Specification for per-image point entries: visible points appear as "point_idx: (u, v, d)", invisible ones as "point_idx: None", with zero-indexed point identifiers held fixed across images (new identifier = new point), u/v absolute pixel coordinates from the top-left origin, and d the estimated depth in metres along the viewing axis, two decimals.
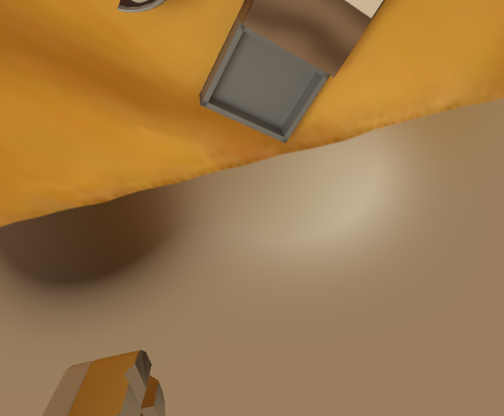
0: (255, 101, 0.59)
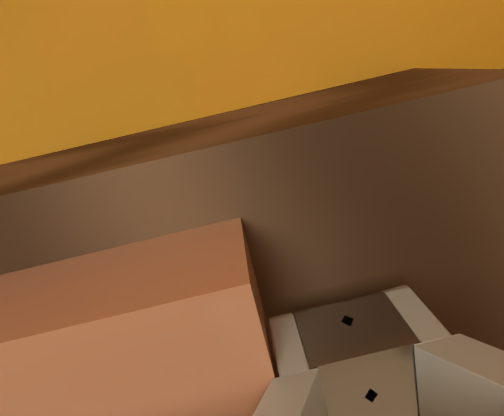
0: None
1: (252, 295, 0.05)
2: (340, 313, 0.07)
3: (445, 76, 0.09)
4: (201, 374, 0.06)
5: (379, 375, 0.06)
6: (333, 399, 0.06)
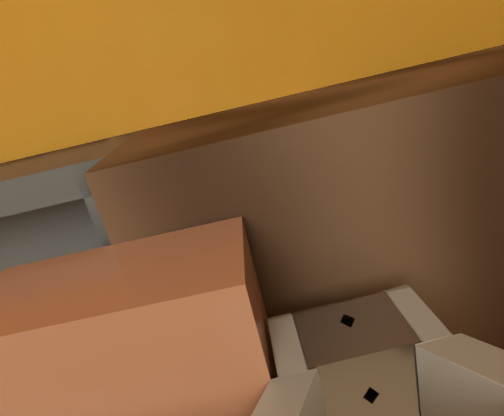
0: None
1: (247, 296, 0.05)
2: (341, 313, 0.07)
3: None
4: (197, 373, 0.06)
5: (380, 374, 0.06)
6: (332, 399, 0.06)
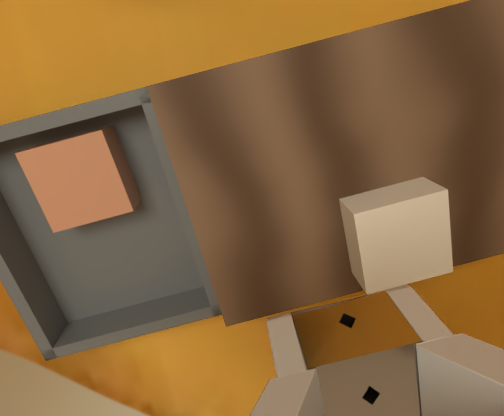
0: (63, 240, 0.26)
1: None
2: (342, 312, 0.07)
3: None
4: None
5: (381, 374, 0.06)
6: (330, 400, 0.06)
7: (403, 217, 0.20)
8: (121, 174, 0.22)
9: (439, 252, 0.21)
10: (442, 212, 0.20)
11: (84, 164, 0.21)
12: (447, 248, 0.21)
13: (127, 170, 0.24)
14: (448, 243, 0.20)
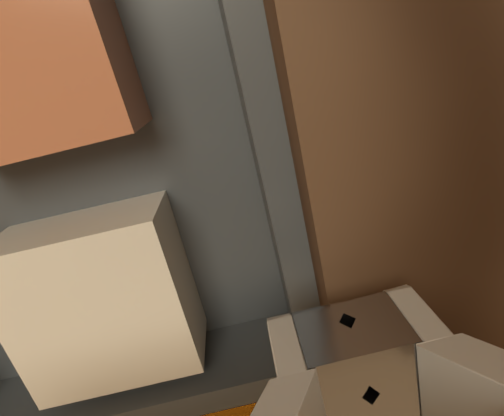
0: None
1: None
2: (342, 312, 0.07)
3: None
4: None
5: (381, 374, 0.06)
6: (331, 400, 0.06)
7: None
8: (102, 28, 0.08)
9: None
10: None
11: None
12: None
13: (121, 39, 0.10)
14: None
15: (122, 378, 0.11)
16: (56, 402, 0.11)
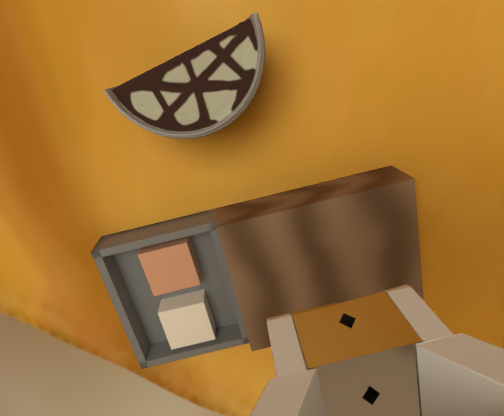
0: (153, 296, 0.42)
1: None
2: (342, 312, 0.07)
3: (397, 175, 0.37)
4: None
5: (381, 374, 0.06)
6: (330, 400, 0.06)
7: None
8: (194, 264, 0.39)
9: None
10: None
11: (175, 260, 0.38)
12: None
13: (195, 258, 0.40)
14: None
15: (193, 340, 0.42)
16: (176, 347, 0.42)
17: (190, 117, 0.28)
